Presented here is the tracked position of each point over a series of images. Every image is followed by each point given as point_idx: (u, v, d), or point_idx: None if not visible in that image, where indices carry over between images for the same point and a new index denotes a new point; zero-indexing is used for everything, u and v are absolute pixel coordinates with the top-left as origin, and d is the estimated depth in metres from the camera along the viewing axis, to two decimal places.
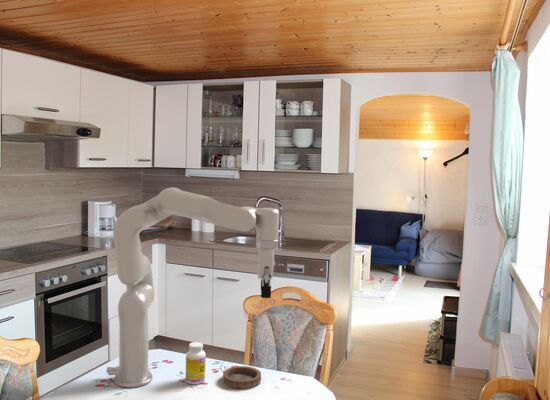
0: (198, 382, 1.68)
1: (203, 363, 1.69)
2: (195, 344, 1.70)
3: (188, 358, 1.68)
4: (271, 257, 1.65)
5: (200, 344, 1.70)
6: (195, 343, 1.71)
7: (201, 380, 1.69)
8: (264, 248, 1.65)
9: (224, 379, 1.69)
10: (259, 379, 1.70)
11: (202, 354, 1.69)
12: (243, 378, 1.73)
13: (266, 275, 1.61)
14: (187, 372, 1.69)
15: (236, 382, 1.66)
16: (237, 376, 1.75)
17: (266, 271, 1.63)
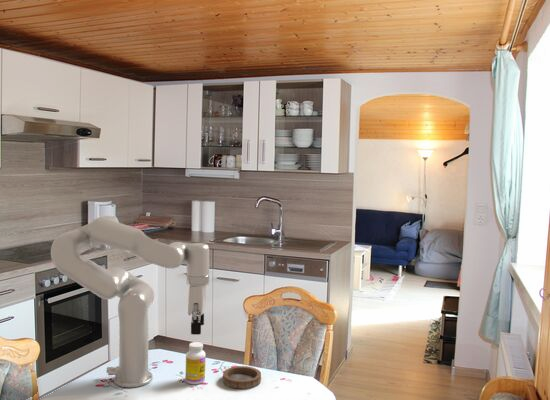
0: (198, 382, 1.68)
1: (203, 363, 1.69)
2: (195, 344, 1.70)
3: (188, 358, 1.68)
4: (200, 293, 1.65)
5: (200, 344, 1.70)
6: (195, 343, 1.71)
7: (201, 380, 1.69)
8: (193, 284, 1.65)
9: (224, 379, 1.69)
10: (259, 379, 1.70)
11: (202, 354, 1.69)
12: (243, 378, 1.73)
13: (193, 312, 1.61)
14: (187, 372, 1.69)
15: (236, 382, 1.66)
16: (237, 376, 1.75)
17: (195, 308, 1.63)
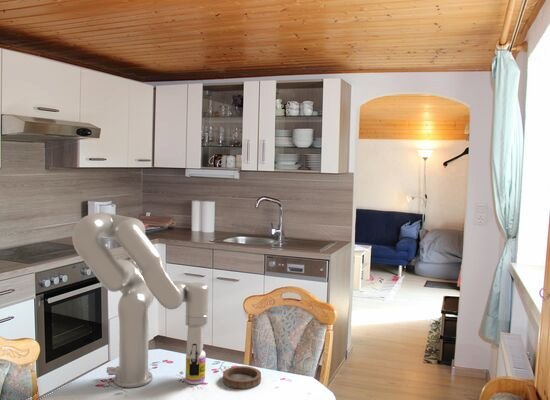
0: (198, 382, 1.68)
1: (203, 363, 1.69)
2: None
3: (188, 358, 1.68)
4: (199, 334, 1.66)
5: None
6: None
7: (201, 380, 1.69)
8: (192, 325, 1.66)
9: (224, 379, 1.69)
10: (259, 379, 1.70)
11: (202, 354, 1.69)
12: (243, 378, 1.73)
13: (192, 357, 1.62)
14: (187, 372, 1.69)
15: (236, 382, 1.66)
16: (237, 376, 1.75)
17: (193, 351, 1.64)
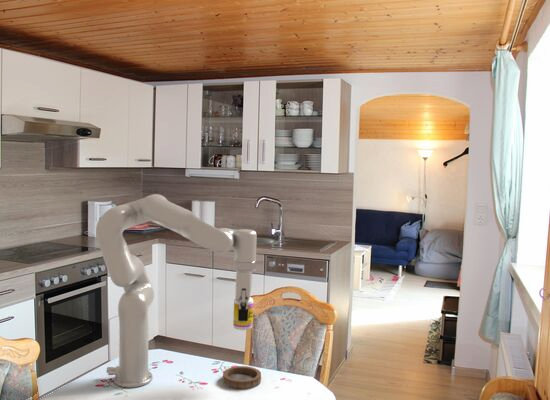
0: (247, 328, 1.68)
1: (251, 309, 1.69)
2: None
3: (237, 304, 1.68)
4: (248, 279, 1.66)
5: None
6: None
7: (249, 326, 1.69)
8: (241, 270, 1.66)
9: (224, 379, 1.69)
10: (259, 379, 1.70)
11: (251, 300, 1.69)
12: (243, 378, 1.73)
13: (242, 300, 1.62)
14: (235, 318, 1.69)
15: (236, 382, 1.66)
16: (237, 376, 1.75)
17: (243, 295, 1.64)
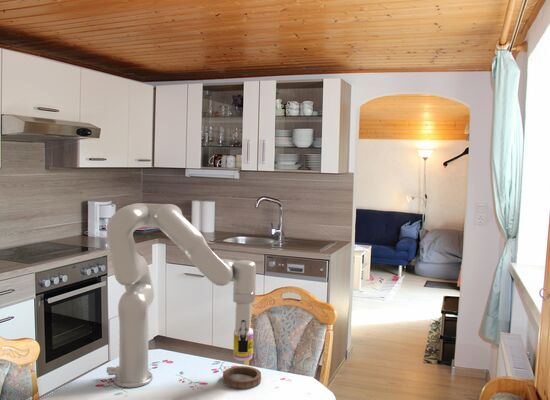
0: (247, 359, 1.69)
1: (251, 340, 1.70)
2: None
3: (236, 335, 1.69)
4: (248, 311, 1.66)
5: None
6: None
7: (249, 357, 1.69)
8: (241, 302, 1.67)
9: (224, 379, 1.69)
10: (259, 379, 1.70)
11: (250, 330, 1.70)
12: (243, 378, 1.73)
13: (242, 333, 1.63)
14: (235, 349, 1.69)
15: (236, 382, 1.66)
16: (237, 376, 1.75)
17: (242, 327, 1.64)
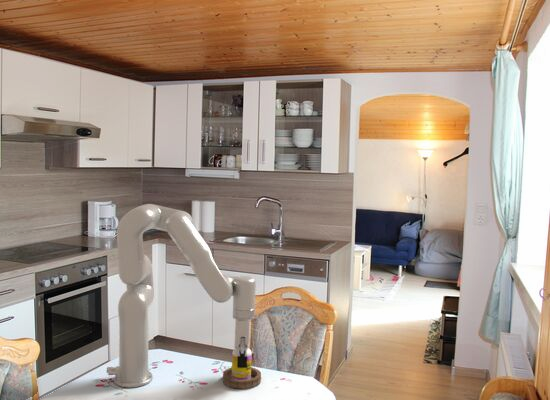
0: None
1: (249, 361, 1.70)
2: None
3: (235, 356, 1.69)
4: (247, 327, 1.67)
5: None
6: None
7: (247, 378, 1.70)
8: (240, 318, 1.67)
9: (224, 379, 1.69)
10: (259, 379, 1.70)
11: (249, 352, 1.70)
12: None
13: (241, 347, 1.63)
14: (234, 370, 1.70)
15: (236, 382, 1.66)
16: None
17: (242, 342, 1.64)
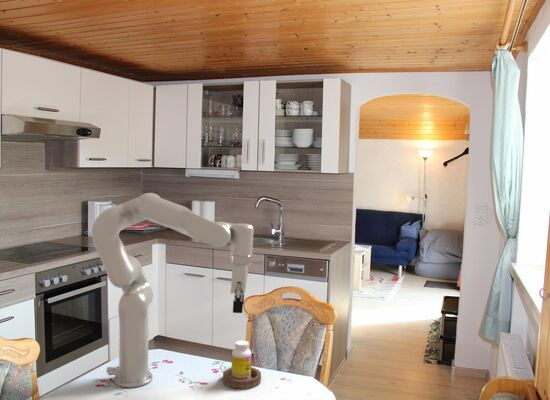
0: None
1: (249, 361, 1.70)
2: (241, 342, 1.71)
3: (234, 356, 1.69)
4: (244, 273, 1.67)
5: (246, 342, 1.71)
6: (240, 341, 1.72)
7: (247, 378, 1.70)
8: (237, 263, 1.67)
9: (224, 379, 1.69)
10: (259, 379, 1.70)
11: (248, 352, 1.70)
12: None
13: (237, 291, 1.63)
14: (233, 370, 1.70)
15: (236, 382, 1.66)
16: None
17: (238, 286, 1.65)
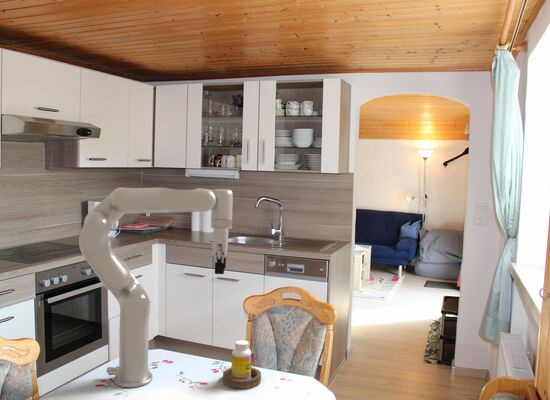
0: None
1: (249, 361, 1.70)
2: (241, 342, 1.72)
3: (234, 356, 1.70)
4: (224, 235, 1.74)
5: (246, 342, 1.72)
6: (240, 341, 1.73)
7: (247, 378, 1.70)
8: (218, 227, 1.74)
9: (224, 379, 1.69)
10: (259, 379, 1.70)
11: (248, 352, 1.70)
12: None
13: (218, 252, 1.70)
14: (233, 370, 1.70)
15: (236, 382, 1.66)
16: None
17: (219, 248, 1.72)
